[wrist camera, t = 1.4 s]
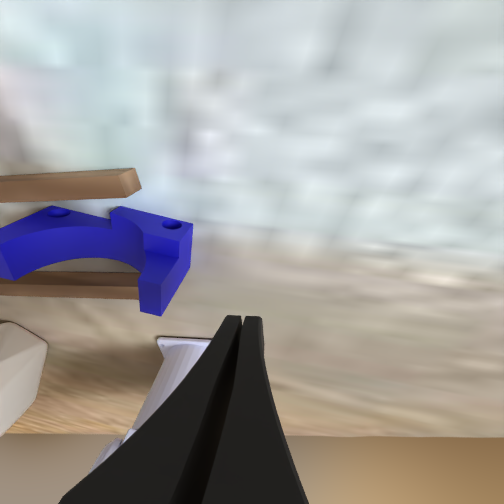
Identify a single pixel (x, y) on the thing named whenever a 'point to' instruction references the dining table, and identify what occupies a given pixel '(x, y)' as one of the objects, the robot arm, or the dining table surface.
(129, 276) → the guide
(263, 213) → the dining table surface
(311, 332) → the dining table surface
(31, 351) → the vase
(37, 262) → the cable clip
